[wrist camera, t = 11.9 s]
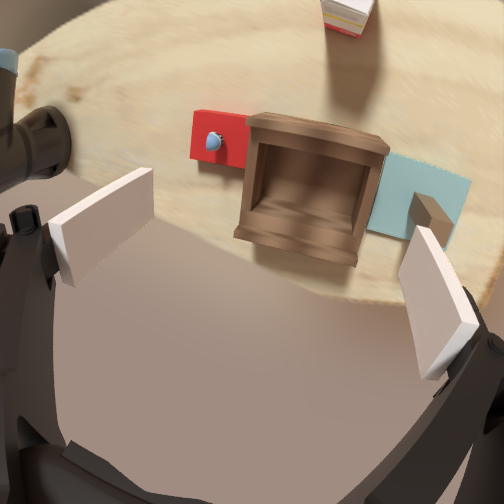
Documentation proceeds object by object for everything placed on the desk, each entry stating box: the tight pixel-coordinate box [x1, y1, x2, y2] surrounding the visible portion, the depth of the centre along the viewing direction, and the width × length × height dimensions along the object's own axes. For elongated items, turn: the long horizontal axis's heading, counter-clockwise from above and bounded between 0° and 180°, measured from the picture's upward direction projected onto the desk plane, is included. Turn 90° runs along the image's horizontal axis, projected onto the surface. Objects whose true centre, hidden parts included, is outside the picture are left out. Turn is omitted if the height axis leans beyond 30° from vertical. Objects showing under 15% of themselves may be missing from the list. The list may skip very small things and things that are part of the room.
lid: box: [366, 152, 471, 251], centre depth 33 cm, size 13×11×10 cm
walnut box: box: [233, 112, 390, 267], centre depth 35 cm, size 15×14×9 cm
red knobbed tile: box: [190, 110, 250, 169], centre depth 37 cm, size 8×7×6 cm
